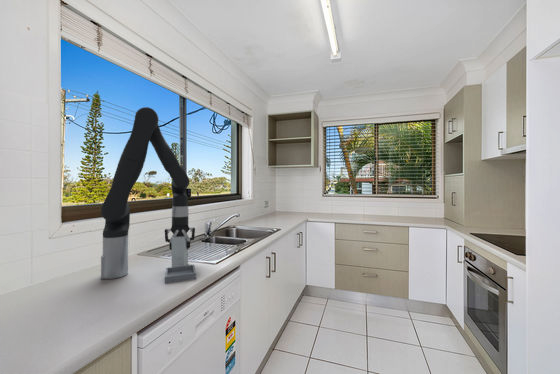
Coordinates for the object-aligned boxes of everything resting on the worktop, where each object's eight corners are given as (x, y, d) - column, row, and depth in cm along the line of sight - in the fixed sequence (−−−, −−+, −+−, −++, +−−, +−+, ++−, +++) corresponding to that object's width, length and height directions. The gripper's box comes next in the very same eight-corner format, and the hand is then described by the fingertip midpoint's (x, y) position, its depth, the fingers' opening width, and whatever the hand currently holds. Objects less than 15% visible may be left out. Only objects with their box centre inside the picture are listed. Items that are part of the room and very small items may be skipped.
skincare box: (184, 269, 115) (184, 237, 115) (170, 269, 114) (171, 237, 114) (188, 263, 123) (188, 234, 123) (175, 263, 122) (176, 234, 122)
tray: (164, 283, 98) (164, 277, 98) (165, 273, 109) (165, 267, 109) (196, 279, 103) (196, 273, 103) (194, 269, 114) (194, 264, 114)
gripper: (163, 216, 112) (163, 253, 112) (196, 215, 118) (196, 250, 118) (164, 215, 119) (164, 249, 119) (195, 214, 125) (194, 246, 125)
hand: (179, 249), depth 119 cm, fingers closed on skincare box, 6 cm apart
